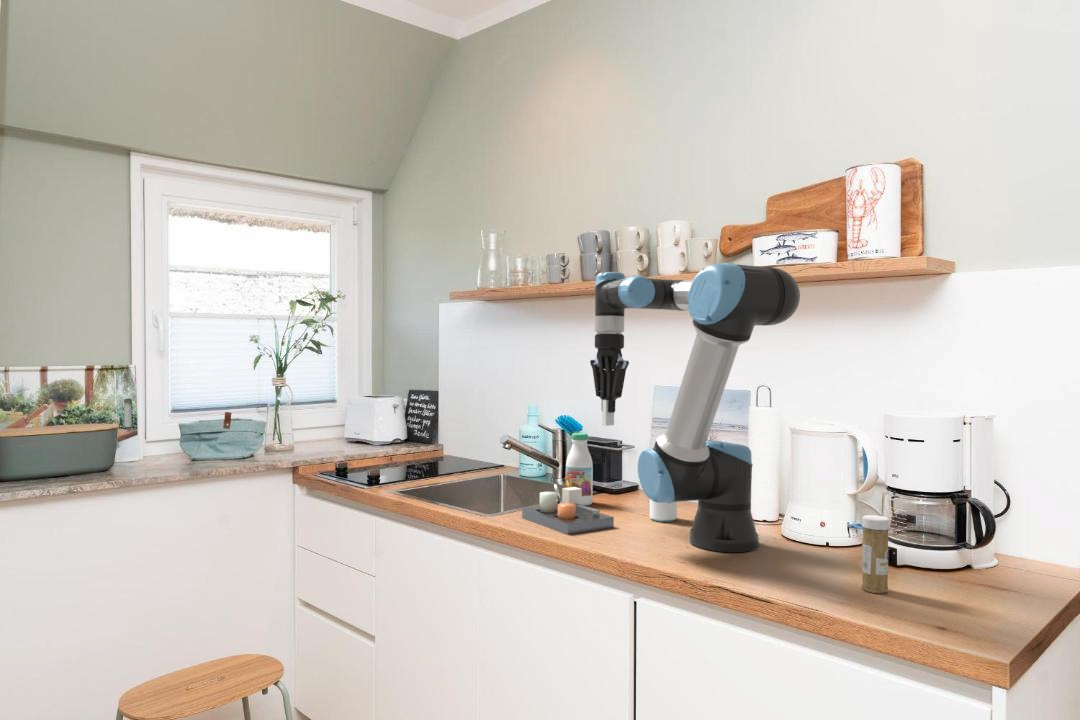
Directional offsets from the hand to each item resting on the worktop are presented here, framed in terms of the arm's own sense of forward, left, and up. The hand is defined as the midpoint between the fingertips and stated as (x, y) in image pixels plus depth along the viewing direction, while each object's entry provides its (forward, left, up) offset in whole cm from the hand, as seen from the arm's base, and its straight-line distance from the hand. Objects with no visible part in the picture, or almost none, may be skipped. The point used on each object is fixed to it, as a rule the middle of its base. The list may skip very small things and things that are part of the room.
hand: (608, 425), depth 186 cm
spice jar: (-69, -7, -25) cm, 74 cm away
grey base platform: (+3, +10, -24) cm, 27 cm away
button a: (-1, +13, -23) cm, 27 cm away
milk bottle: (+20, -6, -25) cm, 32 cm away
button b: (+7, +13, -22) cm, 27 cm away
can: (-7, -13, -25) cm, 29 cm away
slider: (+6, +7, -20) cm, 22 cm away
